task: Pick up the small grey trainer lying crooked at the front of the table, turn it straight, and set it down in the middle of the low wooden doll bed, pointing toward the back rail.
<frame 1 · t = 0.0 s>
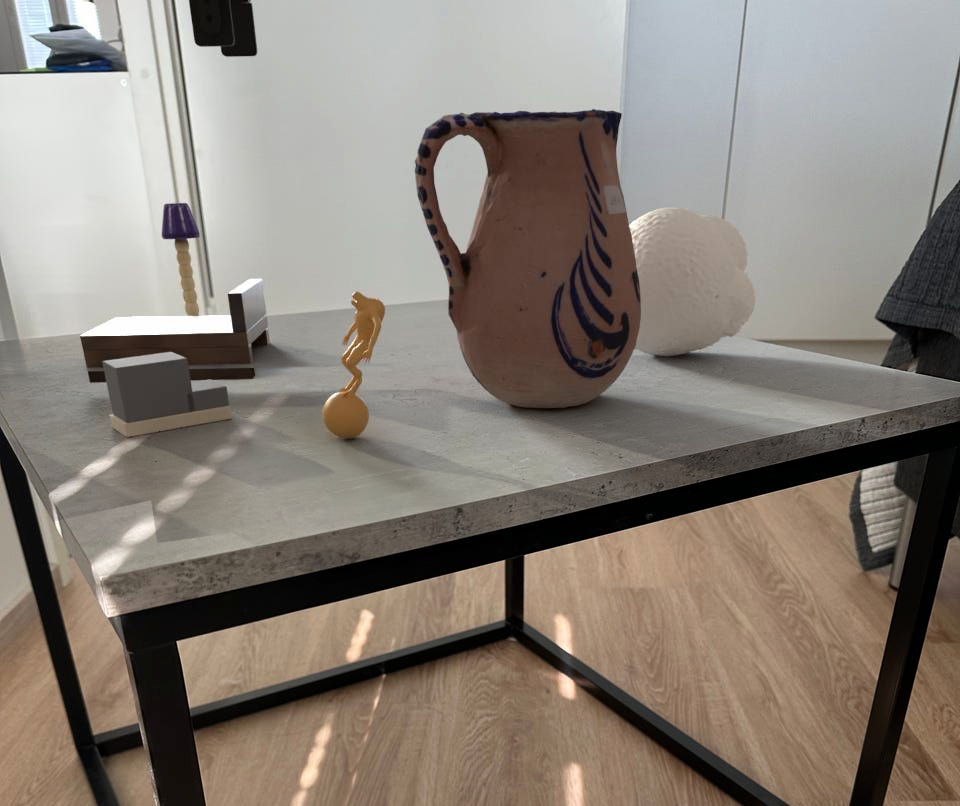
hand: (228, 51, 80), 30 cm above the table, tool pointing down, fingers open, 9 cm apart
toy lamp: (197, 342, 123), on the table
ceramic pitcher: (531, 403, 91), on the table
figurine: (359, 438, 81), on the table
trainer: (172, 423, 86), on the table
wooden doll bed: (185, 369, 107), on the table
white lobed lump: (667, 355, 111), on the table
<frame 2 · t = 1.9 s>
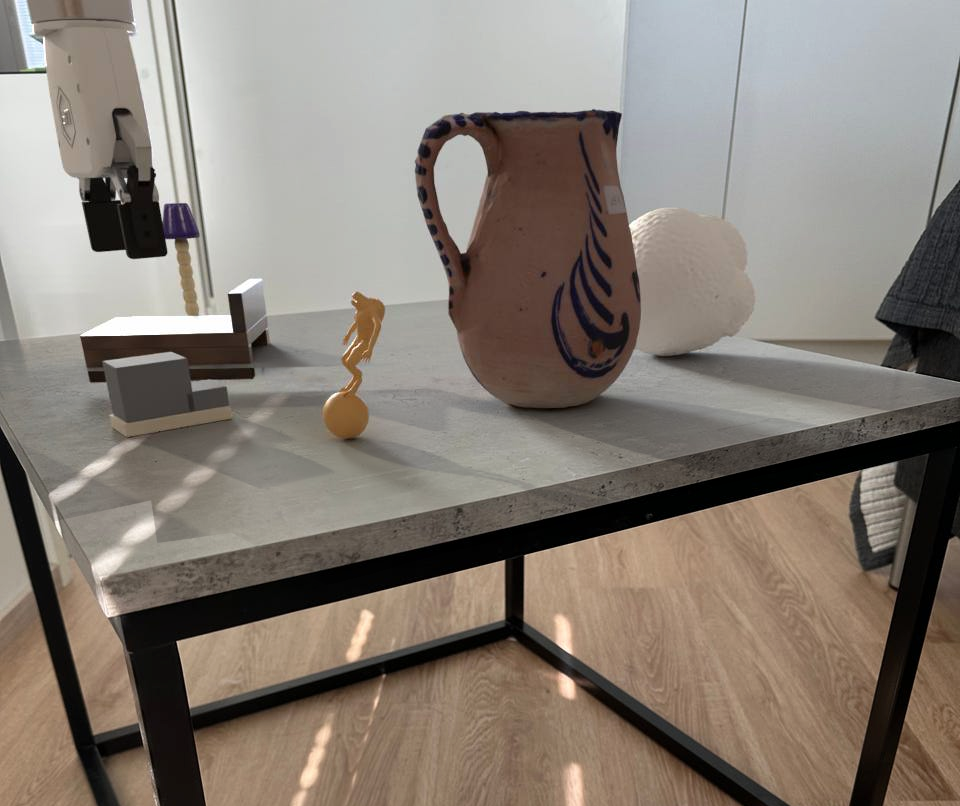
hand: (128, 253, 78), 15 cm above the table, tool pointing down, fingers open, 9 cm apart
nothing on the table moved.
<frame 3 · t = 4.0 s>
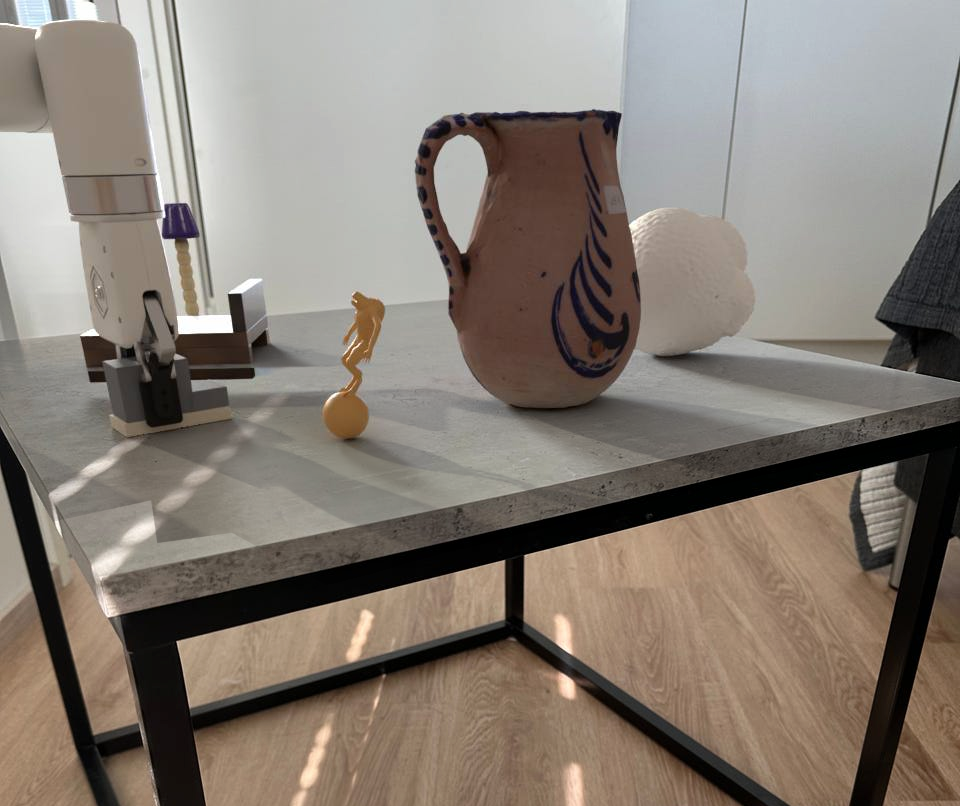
hand: (155, 416, 85), 1 cm above the table, tool pointing down, fingers closed on trainer, 4 cm apart
trainer: (172, 423, 86), on the table, touching gripper
everything else where it was.
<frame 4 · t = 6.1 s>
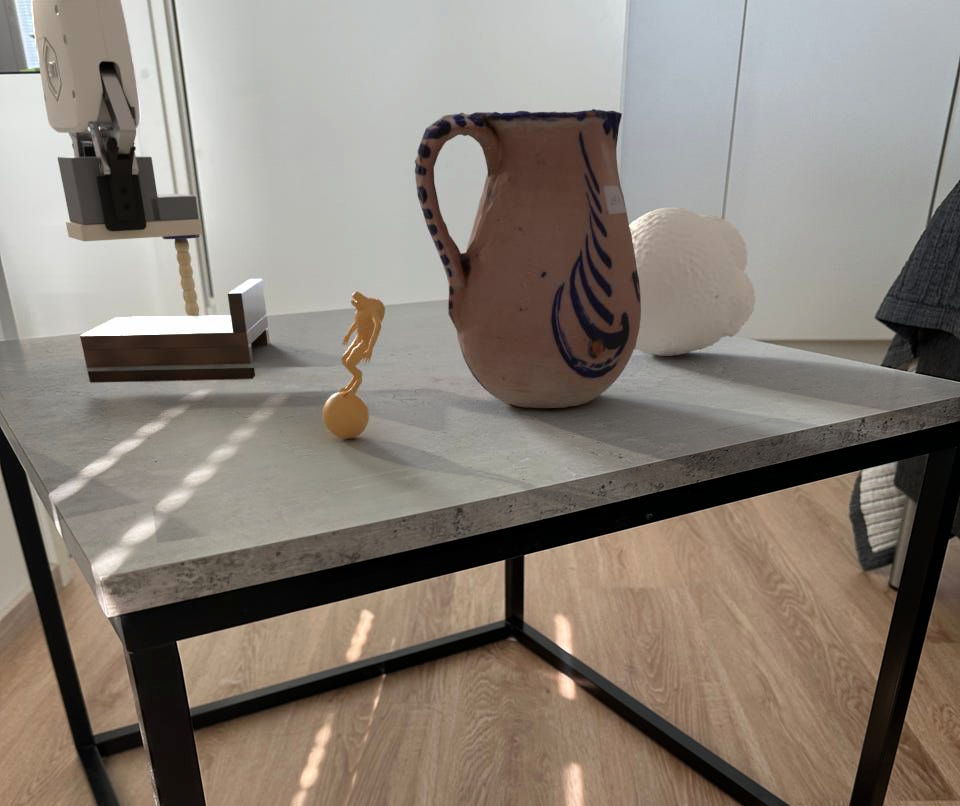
hand: (116, 225, 78), 17 cm above the table, tool pointing down, fingers closed on trainer, 4 cm apart
trainer: (136, 235, 79), point 16 cm above the table, touching gripper
everything else where it was.
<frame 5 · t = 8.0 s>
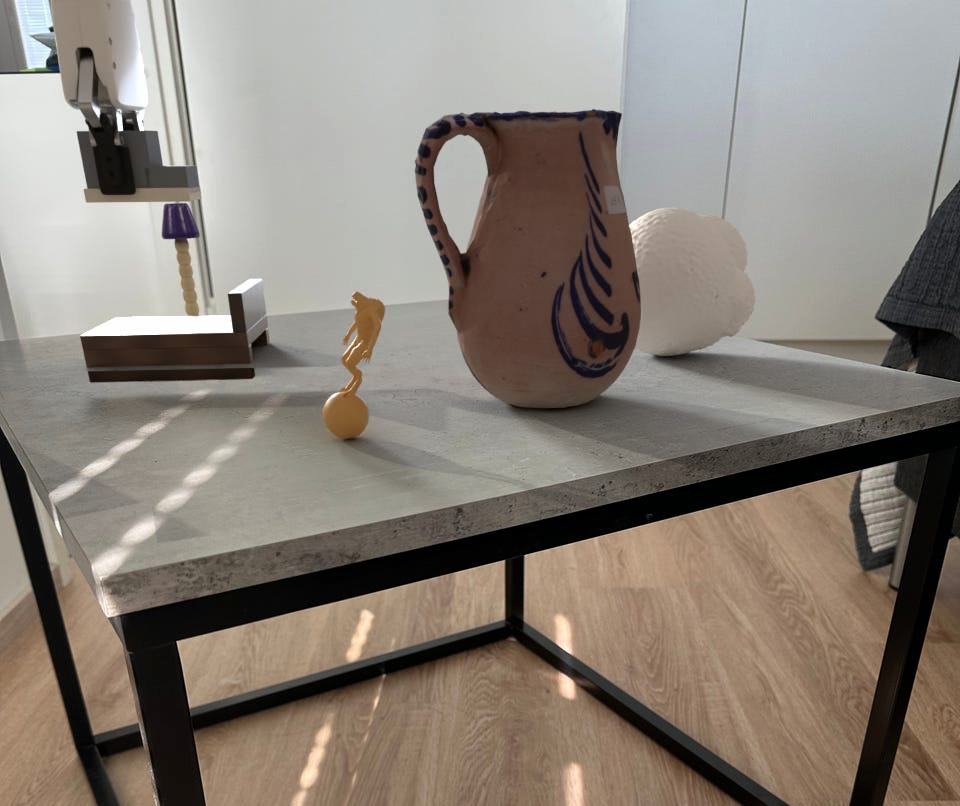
hand: (127, 191, 90), 19 cm above the table, tool pointing down, fingers closed on trainer, 4 cm apart
trainer: (145, 200, 90), point 18 cm above the table, touching gripper
everything else where it was.
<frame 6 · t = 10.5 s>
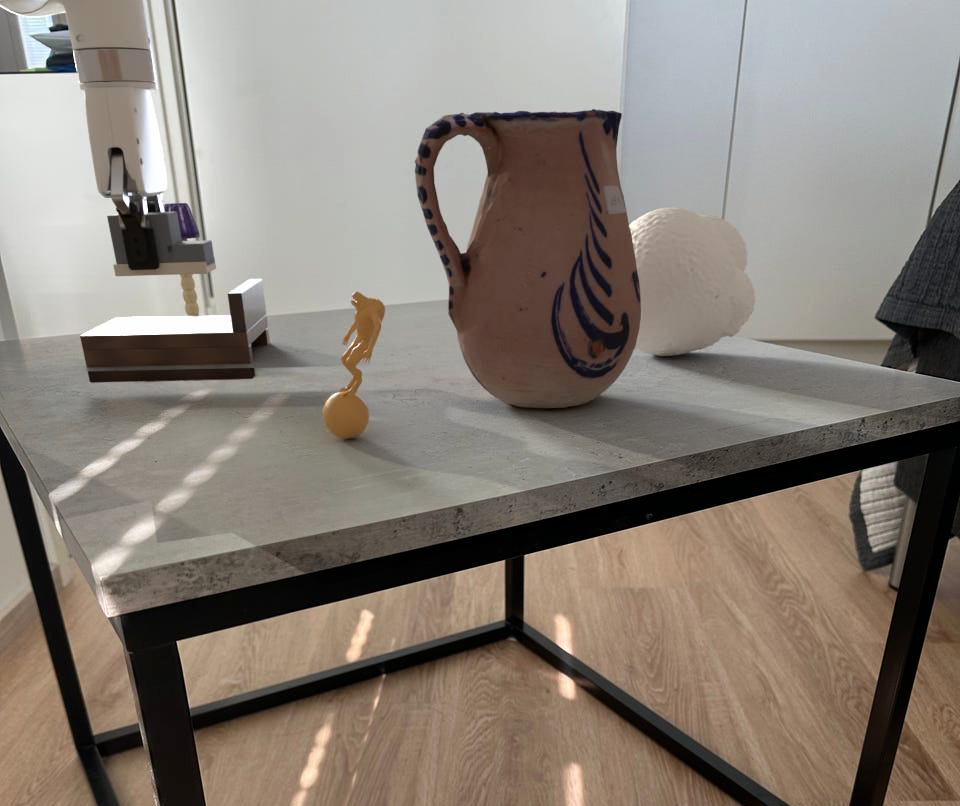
hand: (151, 264, 102), 11 cm above the table, tool pointing down, fingers closed on trainer, 4 cm apart
trainer: (166, 272, 102), point 11 cm above the table, touching gripper
everything else where it was.
when the fingers open (6 cm above the table, at t = 12.2 s): trainer stays where it is, resting on wooden doll bed.
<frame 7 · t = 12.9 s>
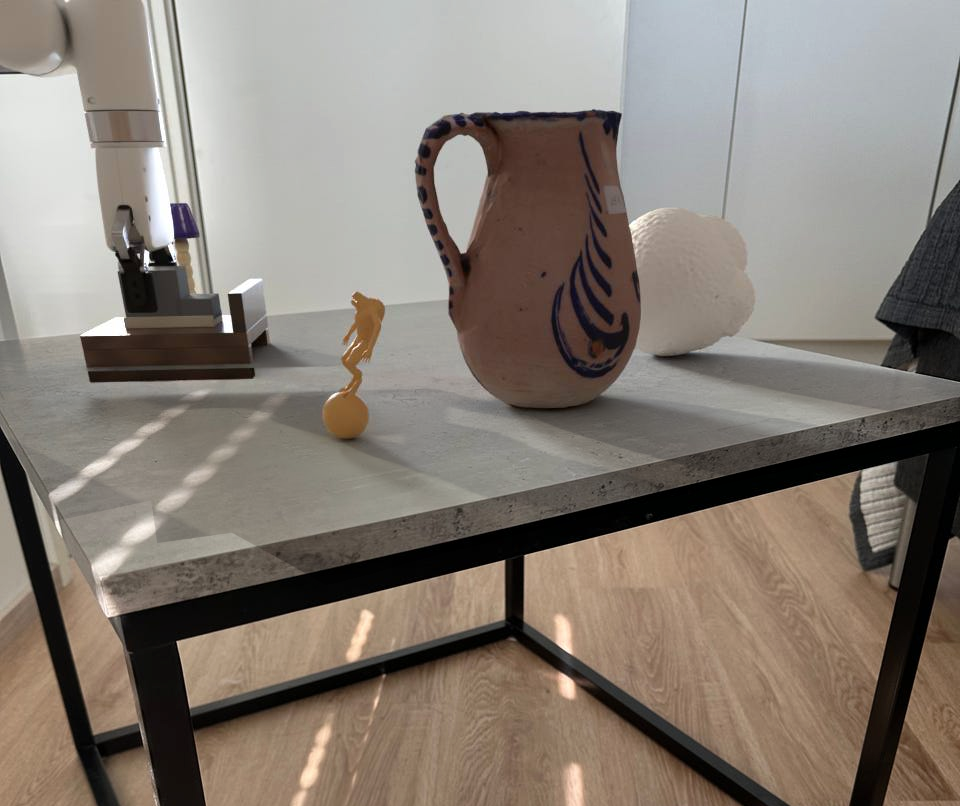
hand: (156, 305, 104), 7 cm above the table, tool pointing down, fingers open, 9 cm apart
trainer: (174, 324, 105), point 5 cm above the table, touching wooden doll bed
everything else where it was.
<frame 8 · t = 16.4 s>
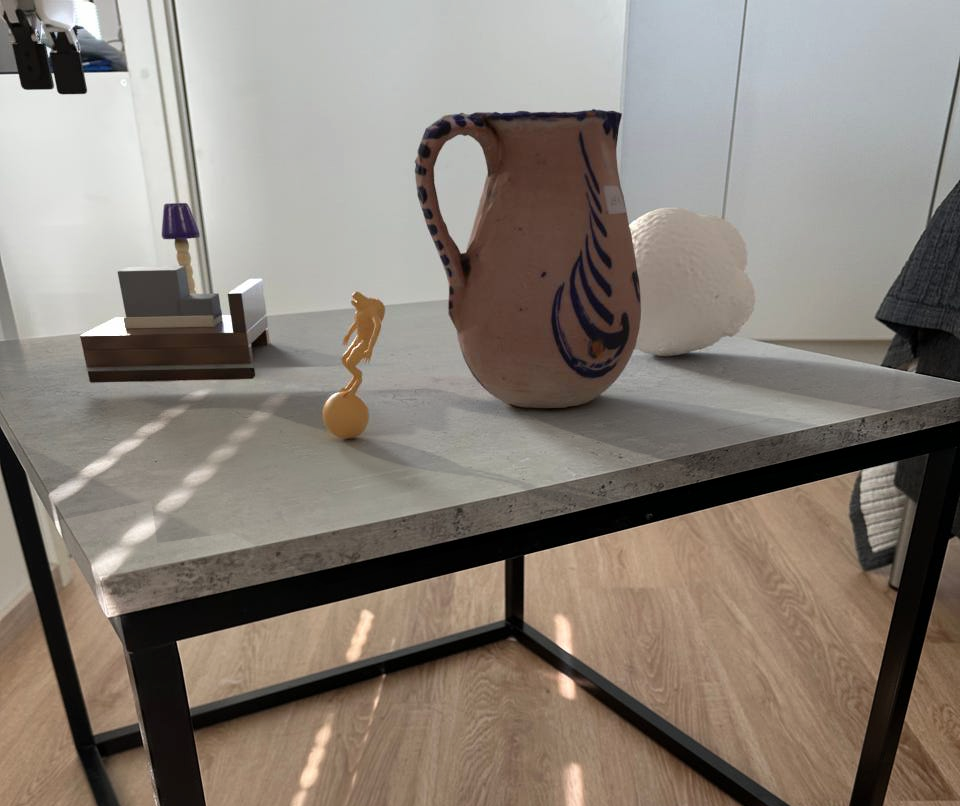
hand: (56, 91, 100), 28 cm above the table, tool pointing down, fingers open, 9 cm apart
nothing on the table moved.
at the end: trainer inside the target area on the wooden doll bed (0.4 cm from its centre), point 5.0 cm above the wooden doll bed's base; trainer tilted 0°; the gripper is holding nothing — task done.
